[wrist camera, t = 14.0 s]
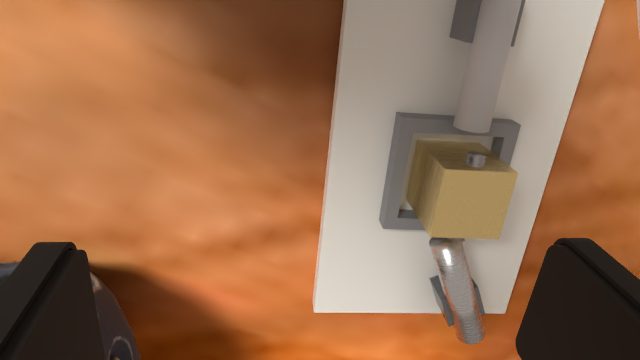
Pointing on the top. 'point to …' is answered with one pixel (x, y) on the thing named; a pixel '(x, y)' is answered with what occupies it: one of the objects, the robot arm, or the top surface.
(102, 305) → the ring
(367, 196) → the white fixture base plate
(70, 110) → the top surface
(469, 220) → the block
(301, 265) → the top surface
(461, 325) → the angled shaft
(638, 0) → the pasta box
